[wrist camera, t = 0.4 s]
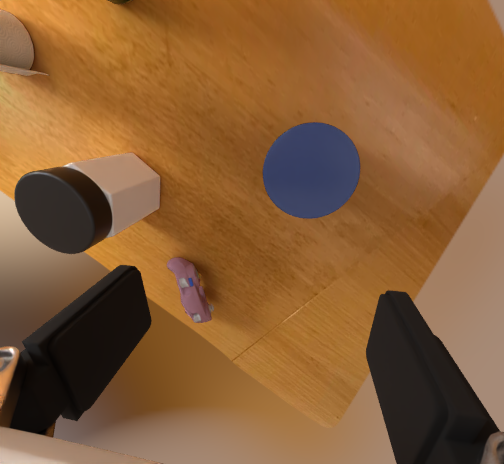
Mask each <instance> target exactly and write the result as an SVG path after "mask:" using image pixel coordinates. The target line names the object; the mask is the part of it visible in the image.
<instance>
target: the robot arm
mask: <svg viewBox="0 0 504 464" xmlns="http://www.w3.org/2000/svg"><path fill="white" fill-rule="evenodd" d="M150 325H151V316H150V312H149V307H148V303H147V298H146V294H145V290H144V286H143V281H142V277H141V273H140V271H139V270H137V268H136V267H135V266H127V265H120V266H118V267H117V268H115V269H114V270H113V271H112V272H110V273H109V274H108V275H106V276H105V277H104V278H103V279H101V280H100V281H99V282H97V283H96V284H95V285H94V286H92V287H91V288H90V289H89V290H87V291H86V292H85V293H83V294H82V295H81V296H80V297H78V298H77V299H76V300H75V301H73V302H72V303H71V304H70V305H68V306H67V307H66V308H64V309H63V310H62V311H61V312H59V313H58V314H57V315H55V316H54V317H53V318H52V319H50V320H49V321H48V322H46V323H45V324H44V325H43V326H41V327H40V328H39V329H38V330H36V331H35V332H34V333H32V334H31V335H30V336H29V337H27V338H26V339H25V340H23V341H22V343H23V344H24V346H25V348H26V349H25V350H23V351H22V352H21V353H20V352H19V350H18V349H17V348H15V347H11V346H10V347H1V348H0V464H162V463H158V462H154V461H150V460H146V459H141V458H137V457H132V456H129V455H125V454H121V453H116V452H112V451H108V450H103V449H99V448H95V447H91V446H86V445H82V444H78V443H73V442H69V441H65V440H60V439H57V438H53V435H54V429H55V423H56V420H57V418H58V417H59V416H60V415H62V417H63V418H66V419H71V420H75V421H78V419H79V418H80V417H81V415H82V414H83V413H84V411H86V410H88V409H89V408H91V406H92V405H93V404H94V402H95V401H96V400H97V398H98V397H99V396H100V394H101V393H102V392H103V390H104V389H105V388H106V386H107V385H108V384H109V382H110V381H111V379H112V378H113V377H114V375H115V374H116V373H117V371H118V370H119V369H120V367H121V366H122V365H123V363H124V362H125V360H126V359H127V358H128V356H129V355H130V354H131V352H132V351H133V350H134V348H135V347H136V346H137V344H138V343H139V341H140V340H141V339H142V337H143V336H144V334H145V333H146V332H147V331H148V329H149V328H150ZM366 357H367V361H368V365H369V368H370V372H371V375H372V379H373V382H374V386H375V389H376V393H377V396H378V400H379V403H380V407H381V410H382V414H383V417H384V421H385V424H386V428H387V431H388V435H389V438H390V442H391V445H392V449H393V452H394V456H395V460H396V463H397V464H504V432H500V430H499V429H498V428H497V426H496V424H495V423H494V421H493V420H492V418H491V417H490V415H489V414H488V412H487V410H486V409H485V408H484V406H483V404H482V403H481V401H480V400H479V398H478V397H477V395H476V394H475V392H474V391H473V389H472V387H471V386H470V384H469V383H468V381H467V380H466V378H465V377H464V375H463V374H462V372H461V371H460V369H459V367H458V366H457V364H456V363H455V361H454V360H453V358H452V357H451V355H450V354H449V352H448V351H447V349H446V348H445V346H444V344H443V343H442V341H441V340H440V339H439V338H438V337H437V336H435V335H434V334H433V333H432V331H431V330H430V328H429V327H428V325H427V323H426V322H425V320H424V319H423V317H422V316H421V314H420V312H419V311H418V309H417V308H416V306H415V305H414V303H413V301H412V300H411V298H410V297H409V295H408V294H407V293H406V292H399V291H386V293H385V294H381V295H380V297H379V301H378V305H377V309H376V313H375V316H374V320H373V324H372V328H371V332H370V336H369V340H368V344H367V348H366Z"/></svg>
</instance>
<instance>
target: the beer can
mask: <svg viewBox="0 0 504 464" xmlns="http://www.w3.org/2000/svg"><path fill="white" fill-rule="evenodd" d="M108 1H110V2H112V3H114V4H126V3H128V2H131V1H133V0H108Z"/></svg>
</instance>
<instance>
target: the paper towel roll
mask: <svg viewBox="0 0 504 464" xmlns="http://www.w3.org/2000/svg"><path fill="white" fill-rule="evenodd" d="M33 60H34V49H33V44H32V41H31V38H30V35H29V33H28V32H27V30H26V29H25V27H24V25H23V24H22V23H21V22H20V21H19V20H18V19H17V18H16V17H15V16H14V15H12V14H11V13H9V12H6V11H4V10H1V9H0V71H2V72H8V73H14V74H20V75H25V76H29V75H33V74H37V73H38V74H43V75H48V74H46V73H42V72H37V71H32V70H29V69H30V68H31V67H32V63H33ZM48 76H49V75H48Z"/></svg>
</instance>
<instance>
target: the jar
mask: <svg viewBox="0 0 504 464" xmlns="http://www.w3.org/2000/svg"><path fill="white" fill-rule="evenodd" d="M15 204H16V208H17V211H18V213H19V216H20V217H21V220H22V221H23V223H24V224H25V226H26V227H27V228H28V230H29V231H30V232H31V233H32V234H33V235H34V236H35V237H36V238H37V239H38V240H39V241H40V242H42V243H43V244H45V245H46V246H48V247H49V248H51V249H53V250H56V251H58V252H62V253H67V254H76V253H80V252H83V251H85V250H87V249H88V248H90V247H92V246H94V245H95V244H97V243H99V242H100V241H102V240H103V239H105V238H108V237H112V236H115V235H116V234H118V233H120V232H121V231H123V230H125V229H126V228H128V227H129V226H131V225H133V224H134V223H136V222H138V221H139V220H141V219H143V218H144V217H146V216H148V215H149V214H151V213H153V212H154V211H156V210H158V209H159V208H160V176H159V175H158V174H157V173H156V172H155V171H154V170H152V169H151V168H150V167H149V166H148V165H147V164H145V163H144V162H143V161H142V160H141V159H140V158H138V157H137V156H136V155H135V154H134V153H132V152H130V153H124V154H119V155H113V156H107V157H101V158H95V159H89V160H84V161H78V162H72V163H69V164H67V165H65V166H62V167H55V168H50V169H44V170H39V171H33V172H30V173H27V174H25V175H24V176H22V177H21V178H20V180H19V181H18V183H17V185H16V188H15Z"/></svg>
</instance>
